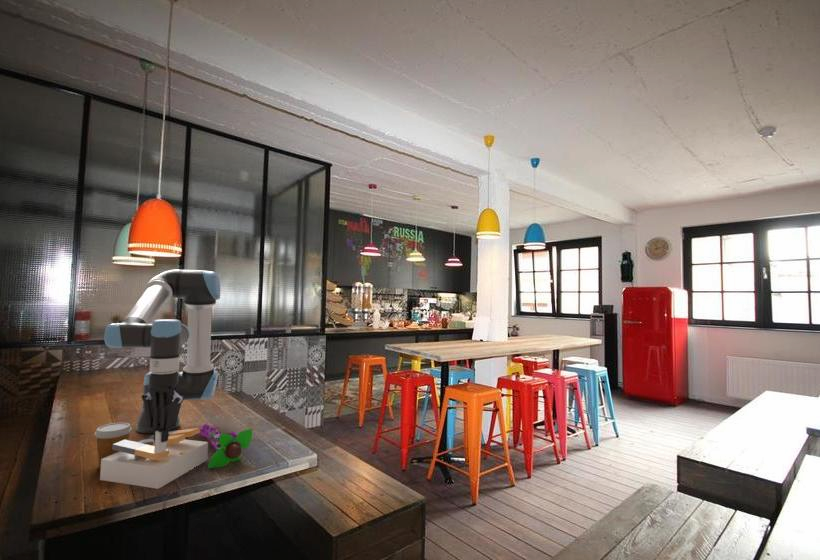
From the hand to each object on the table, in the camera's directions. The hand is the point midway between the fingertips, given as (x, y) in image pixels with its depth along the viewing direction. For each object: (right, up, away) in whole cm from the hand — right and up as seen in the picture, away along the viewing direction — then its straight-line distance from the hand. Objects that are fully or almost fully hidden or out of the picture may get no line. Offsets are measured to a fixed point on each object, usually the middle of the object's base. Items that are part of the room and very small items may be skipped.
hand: (160, 452), depth 117 cm
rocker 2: (-4, 0, +14) cm, 15 cm away
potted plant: (+5, -10, +23) cm, 26 cm away
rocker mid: (-5, 0, +8) cm, 10 cm away
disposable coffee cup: (-22, -8, +10) cm, 25 cm away
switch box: (-6, -9, +8) cm, 13 cm away
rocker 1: (-7, 0, +1) cm, 7 cm away
